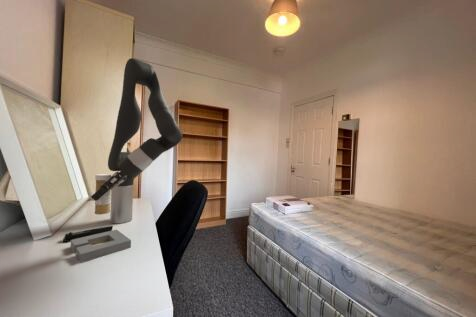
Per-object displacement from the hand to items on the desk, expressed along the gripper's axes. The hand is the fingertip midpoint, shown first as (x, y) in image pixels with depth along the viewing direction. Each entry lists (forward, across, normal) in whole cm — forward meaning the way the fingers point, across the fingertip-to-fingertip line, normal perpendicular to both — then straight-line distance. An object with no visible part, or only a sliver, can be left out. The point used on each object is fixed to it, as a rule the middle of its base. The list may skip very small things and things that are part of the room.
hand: (96, 197), depth 67 cm
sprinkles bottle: (+3, 0, +6) cm, 6 cm away
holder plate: (+11, 0, +14) cm, 17 cm away
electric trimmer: (+17, -12, +9) cm, 22 cm away
